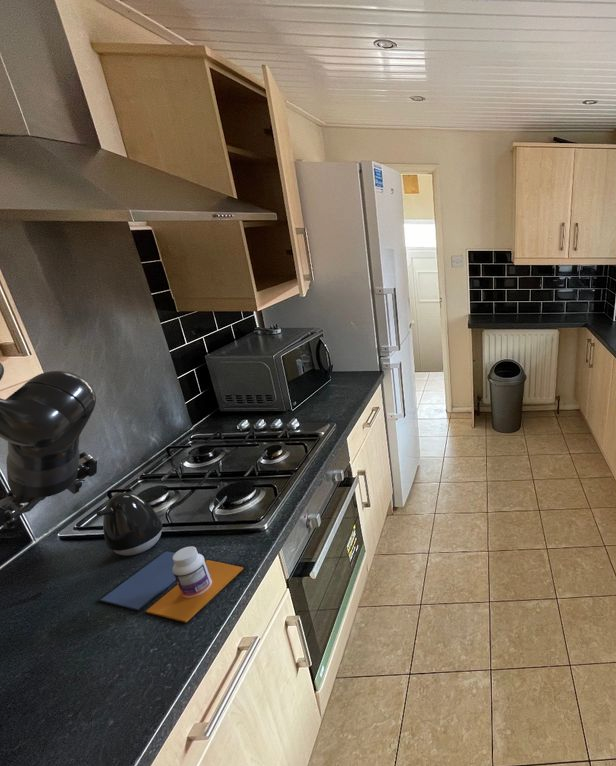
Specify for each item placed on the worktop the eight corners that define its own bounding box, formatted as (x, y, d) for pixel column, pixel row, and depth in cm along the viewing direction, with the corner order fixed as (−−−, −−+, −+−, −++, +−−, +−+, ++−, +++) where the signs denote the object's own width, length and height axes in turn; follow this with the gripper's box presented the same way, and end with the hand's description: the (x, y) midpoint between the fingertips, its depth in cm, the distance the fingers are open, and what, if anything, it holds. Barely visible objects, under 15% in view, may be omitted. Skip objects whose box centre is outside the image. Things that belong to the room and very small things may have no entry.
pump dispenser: (99, 561, 97) (74, 508, 91) (141, 530, 106) (121, 480, 101) (138, 565, 96) (115, 511, 90) (177, 533, 105) (159, 483, 100)
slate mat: (138, 610, 85) (138, 609, 84) (101, 601, 87) (100, 599, 87) (200, 559, 97) (200, 558, 97) (166, 552, 99) (165, 551, 99)
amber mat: (186, 622, 82) (185, 621, 82) (146, 612, 84) (145, 610, 84) (243, 568, 95) (243, 567, 95) (207, 561, 97) (207, 559, 97)
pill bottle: (186, 582, 91) (173, 547, 87) (215, 575, 93) (203, 540, 89) (178, 602, 86) (164, 566, 82) (208, 594, 88) (196, 558, 84)
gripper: (78, 423, 71) (73, 467, 79) (-41, 477, 59) (-32, 521, 67) (114, 452, 71) (105, 492, 80) (4, 511, 59) (8, 551, 68)
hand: (43, 505), depth 74 cm, fingers open, 8 cm apart
